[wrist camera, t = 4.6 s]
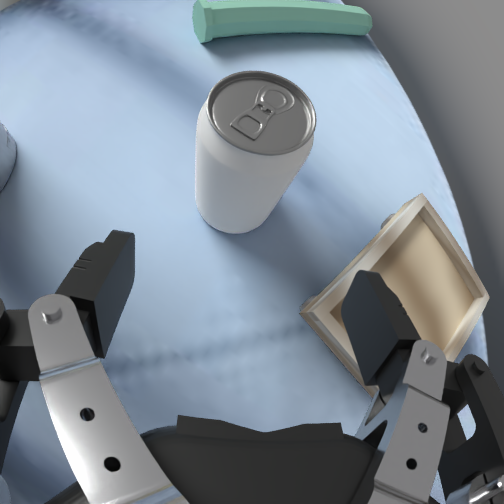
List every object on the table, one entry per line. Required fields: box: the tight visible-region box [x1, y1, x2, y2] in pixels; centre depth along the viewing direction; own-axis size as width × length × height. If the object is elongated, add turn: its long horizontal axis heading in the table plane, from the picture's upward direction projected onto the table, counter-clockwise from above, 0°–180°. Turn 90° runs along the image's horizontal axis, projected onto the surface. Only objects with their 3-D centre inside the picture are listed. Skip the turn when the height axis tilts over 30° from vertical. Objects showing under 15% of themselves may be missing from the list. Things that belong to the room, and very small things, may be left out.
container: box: [192, 0, 372, 43], centre depth 30 cm, size 6×6×25 cm
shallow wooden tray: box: [299, 193, 489, 398], centre depth 23 cm, size 14×12×6 cm
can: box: [195, 71, 316, 234], centre depth 20 cm, size 6×6×12 cm
